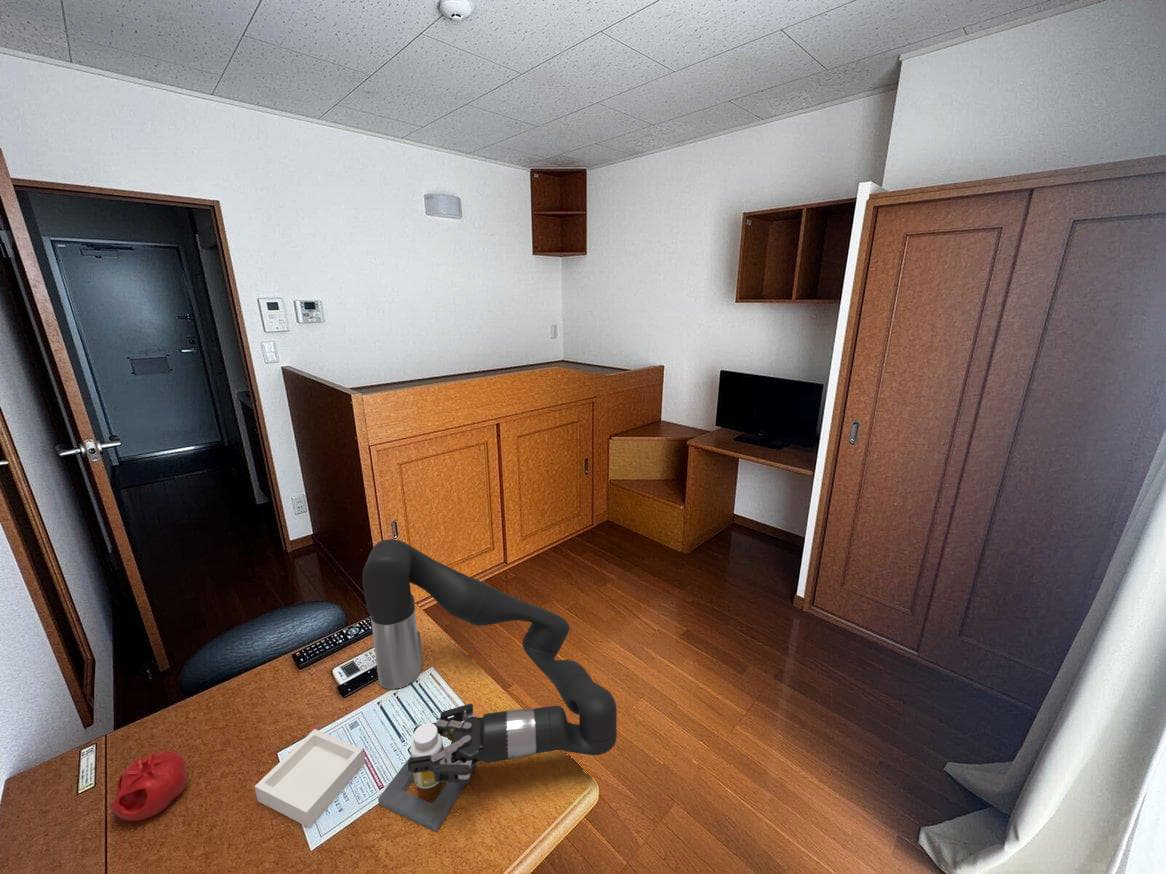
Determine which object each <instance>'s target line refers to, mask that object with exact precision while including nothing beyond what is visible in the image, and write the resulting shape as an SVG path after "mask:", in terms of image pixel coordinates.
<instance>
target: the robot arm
mask: <svg viewBox="0 0 1166 874" xmlns="http://www.w3.org/2000/svg"><path fill="white" fill-rule="evenodd" d="M410 584H412V585H415V586H417V587H419V588H421V589H422V590H423V591H425V592H426V593H428V594H429V595H430V596H431V597H432V598H433V599H434V601H435V602H437V604H438V605H439V606H441V607H442V608H443V610H445V612H447V613H448V614H450V615H451V616H453V617H455V618H457V619H460V620H462V621H465V622H466V623H469V624H471V625H474V626H491V625H496V624H501V623H506V622H512V621H519V622H520V621H523V622H528V623H531V624H530V625H529V627H528V629H527V631H526V633H525V634H524V636H523V639H522V648H523V650H524V652H525V654H526V655H527V657H528V658H529V659H530V660H532V662H533V663H534V665H536V667H537V668H538V669H539V671H541V672H542V673H543V674H544V675H545V676H546V677H547V679H548V680H550V682H551V683H552V684H553V686H554V687H555V688H556V690H557V692H558V694H559V696H560V697H561V699H562V701H563V702H564V704H565V706H566V708H567V709H568V710H569V711H570V712H571V713H573V714H574V715H579V717H578V719H579V720H578V721H579V722H578V723H579V724H576V723H571V722H569V721H568V719H567V715H566V711H565V710H564V708H563V706H560V705H551V706H550V705H549V706H544V707H537V708H517V709H510V710H503V711H495V712H488V713H487V712H486V713H484V714H483V715H482V717H477V716H475V715H474V713H475V712H474V706H473V704H472V703H468V704H463V705H460V706H457V707H453V708H451V709H446V710H443V711H442V712H440V717H439V718H438V719H437V721H436V722H431V724H434V725H435V726H436V727H437V731H438V733H439V734H440V736H441V737H443V738H447V740H448V741H451V742H450V744H449V745H447V746H445V747H443V748H444V750H443V751H441V752H439V753H437V754H435V755H433V756H432V757H431V755H427V756H420V757H414V758H410V757H409V758H410V759H409V758H408V759H409V760H408V759H407V760H408V770H409V771H410V772H412V773H419V772H426V771H432V772H433V774H434V777H435V781H436V782H439V783H447V782H454V783H466V784H467V783H469V782H470V781H471V778H472V777H471V776H472V775H470V772H471V768H472V765H474V764H475V763H476V764H477V763H479V762H483V763H484V764H489V763H495V762H502V761H508V760H515V759H520V758H526V757H528V756H532V755H536V754H542V753H548V752H549V753H550V752H554V751H561V752H566V753H567V752H568V753H575V754H581V755H587V756H600V755H604V754H606V753H608V752H610V750H612V749H613V748H614V747H615V745H616V743H617V738H618V737H617V735H618V732H617V731H618V728H617V727H618V726H617V725H618V724H617V721H618V720H617V718H618V717H617V716H618V715H617V714H618V713H617V712H618V710H617V703H616V700H615V698H614V696H613V695H612V693H611V692H610V691H609V690H607V689H606V688H605V687H603V686H601V685H600V684H598V683H596V682H594V681H593V679H592V678H591V676H590V675H589V674H588V672H587V670H586V669H585V668H584V666H582V665H581V664H580V663H578V662H577V661H574V660H571V659H555V657H556V656H557V655H558V653H559V651H560V650H561V648H562V646H563V644H564V642H565V640H566V639H567V636H568V634H569V632H570V630H571V628H570V624H569V623H568V621H567V620H566V619H565V618H563V617H562V616H560V615H558V614H557V613H554V612H552V611H549V610H548V609H544V608H541V607H539V606H537V605H534V604H531V603H528V602H526V601H522V600H520V599H518V598H516V597H513V596H512V595H509V594H508V593H506V592H503V591H501V590H499V589H497V588H495V587H494V586H492V585H489V584H487V583H485V582H482V581H481V580H479V579H476V578H473V577H471V576H470V575H469V576H468V575H466V574H465V573H462V572H460V571H458V570H456V569H453V568H451V567H449V566H447V565H445V564H442V563H440V562H439V561H437V560H436V559H433V558H432V557H430V556H428V555H426V554H425V553H424V552H422V551H419V550H418V549H417V548H415V547H413V546H412V545H410V544H408V543H406V542H404V541H402V540H398V539H391V538H390V539H383V540H380V541H379V542H377V543H375V544H374V546H373V547H372V549H371V551H370V552H369V555H368V558H367V561H366V562H365V565H364V567H363V569H362V586H363V592H364V599H365V605H366V609H367V611H368V612H369V613H370V620H371V630H372V637H373V645H374V653H375V654H374V655H375V661H376V671H377V677H378V684H379V685H380V686H381V687H382V688H384V689H387V690H395V689H394V688H400V687H403V686H405V685H407V684H409V683H411V682H412V681H413V680H415V679H416V678H417V679H418V677H419V676H420V673H421V667H422V666H423V665H424V659H423V649H422V647H423V646H422V639H421V638H422V637H421V631H420V630H418V627H417V618H416V605H415V604H416V603H415V596H413V594H412V591H411V585H410ZM418 675H419V676H418ZM417 679H416V680H417ZM416 680H415V681H416ZM412 683H413V682H412ZM412 683H411V684H412ZM409 685H410V684H409ZM403 688H404V687H403ZM400 689H401V688H400ZM421 725H422V724H419V725H418V726H414V729H413V733H412V734H414V732H415V730H416V729H417V728H418V727H419V726H421ZM451 755H452V756H453V757H451ZM459 762H461V763H460V765H455V764H457V763H459Z"/></svg>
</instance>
